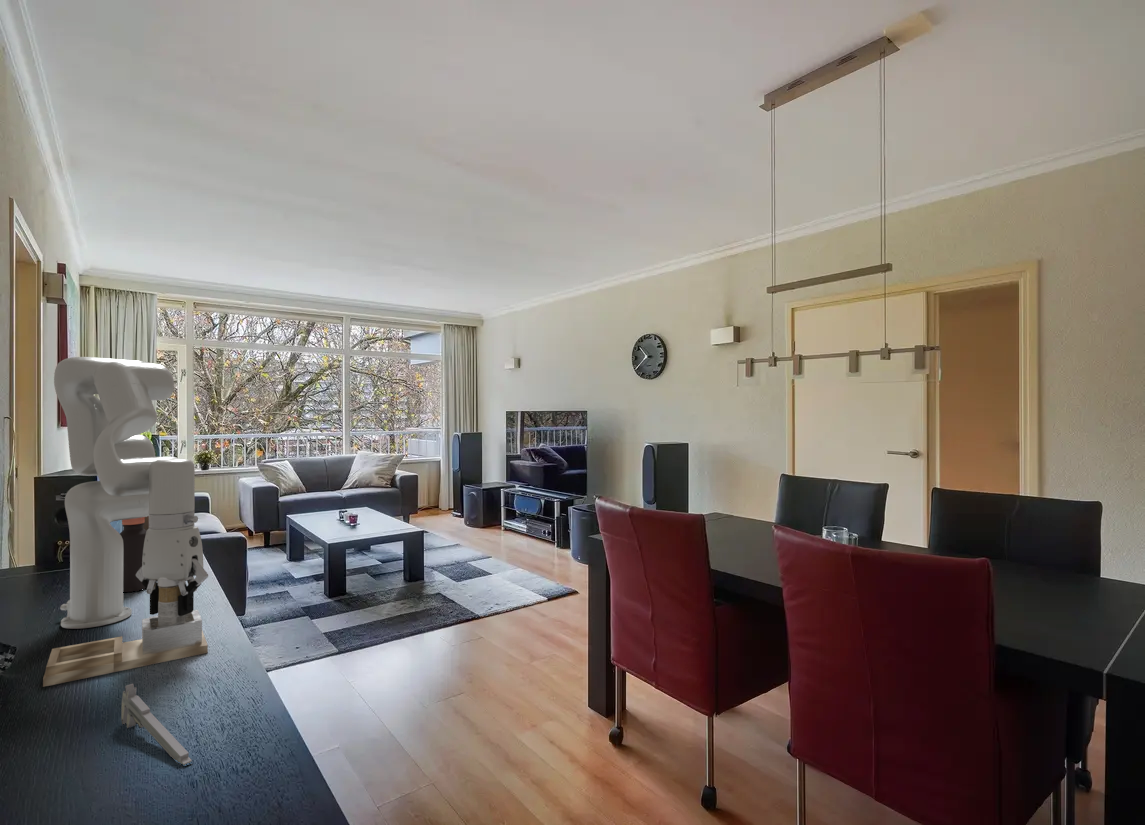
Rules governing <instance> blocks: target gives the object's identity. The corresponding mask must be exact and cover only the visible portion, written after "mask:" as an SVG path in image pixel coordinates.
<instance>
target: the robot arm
mask: <svg viewBox="0 0 1145 825" xmlns="http://www.w3.org/2000/svg"><path fill="white" fill-rule="evenodd" d="M53 374H54V377H53V384H54V390H55V394H56V397H57V399H58V401H59V404H60V405H61V408H62V410H63V413H64V414H65V417H66V427H67V439H68V441H67V442H68V450H69V460H70V465H71V466H70V467H71V469H72V471H73V472H74V473H75V474H76V475H79V476H83V477H84V476H88V477H91V476H92V477H93V476H94V477H95V476H96V477H98V480H95V481H87V482H82V483H79V484H76V485H74V486H72V487H71V488H70V489H69V490H67V491H66V494H65V498H64V508H65V509H64V510H65V513H66V518H67V523H68V529H69V562H70V563H69V599H68V600H67V601H66V603H63V604H61V605H60V606H59V607H60V610H61V611H67V616H65V617H63V618H62V619H61V620H60V627H61V628H63V629H71V630H73V629H75V630H78V629H89V628H90V629H91V628H95V627H96V628H97V627H102V626H106V625H111V624H115V623H117V622H121V621H123V620H125V619H127V618H129V617H130V616H131V615H132V611H133V610H132V608H131V607H128V606H124V593H123V549H124V548H123V539H122V536H121V535H120V532H119V531H117V530H116V528H114V527H113V526H112V525H111V523H112V522H118V521H122V520H126V519H134V518H141V517H145V518H147V517H148V529H147V530H146V531H147V532H146V536H145V541H144V547H143V558H142V567H141V568H140V569H139V570H138V572H137V573H136V577H137V578H138V579H139V580H140V581H141V582H142V584H143V585H144V587H145V588H146V589H145V590H146V594H147V595H149V614H150V615H158V601H159V588H158V587H159V586H158V579H159V578H167V579H169V580H173V581H177V582H178V585H179V588H180V592H181V594H182V595H179V596H178V615H179V616H183V615H186V614H188V613H191V612H193V610H194V607H195V606H194V603H195V602H194V600H195V599H194V594H195V593H196V591H197V590H198V588H199V587H201V585H202V583H204V582H205V581H206V580H207V579H208V578H209V573H208V572H207V571H206V569H205V568H204V552H203V543H202V536H201V533H200V532H201V531H200V529H199V526H195V523H198V520H199V517H198V516H197V515H195V507H196V506H195V489H196V488H195V485H196V484H195V479H196V478H195V474H196V473H195V471H196V469H195V464H194V461H192V460H191V459H188V458H179V457H176V456H156V450H155V447H154V444H153V442H152V440H150V438H148V437H147V436H145V435H143V433H146V432H147V431H149V430H150V429H152V428H153V427H154V426H155V424H156V423H157V421H158V414H157V412H156V408H155V407H154V404H153V402H152V401H165V400H167V399H169V398H170V397H171V396H172V395H173V394H174V393H173V392H174V389H175V382H174V381H175V380H174V378H173V374H172V373H171V372H170V370H169V369H168V368H167V367H166V366H165V365H163V364H160V363H154V362H150V361H149V362H148V361H144V360H136V359H134V360H133V359H121V358H120V359H119V358H108V357H97V356H73V357H68V358H64V359H63V360H61V361H59V362H58V363H57V365H56V366H55V369H54V373H53ZM96 395H98V397H97V396H96ZM185 581H186V582H187V583H186V582H185Z"/></svg>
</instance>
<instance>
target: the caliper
mask: <svg viewBox="0 0 1145 825" xmlns="http://www.w3.org/2000/svg"><path fill="white" fill-rule="evenodd" d="M137 688H138V687H135V686H134V683H130V684H126V685H125V686H124V690H122V696H121V697H122V698H121V718H120V719H121V725H123V724H124V725H126V726H125V727H127V728H126V729H130V728H132V726H133V727H136V725H137V726H138V727H139V729H141V728H144V729H145V730H146V731H147V732H148V733H149V734H150V735H151V736H152V737H153V739H154V740H155V741H156V742H157V743H158V744H159V745H160V746H161V747H162V748H163V750H164V751H165V752H166V753H167V755H169V757H170V758H171V757H172V758H173V759H175V760H177V761H178V762H180V763H181V764H183V765H185V764H187V763H190V762H191V761H192V762H193V759H191V758H190V757H189V751H188V750H186V749H185V747H184V746H183V745H182V744H181V743H180V742H179V741H178V740H177V739H176V738H175V736H173V734H171V733H170V732H171V731H169V730H168V729H167V728H166V727H165V726H164V724H162V723H161V721H159V720H158V719H157V717H156V716H154V714H153V713H152V712H151V708H150V707H149V705H147V704H146V703H145V702H144V700H143V699H142V698H141V697H140V696H139V695H137V690H138V689H137ZM125 723H126V724H125ZM129 727H130V728H129ZM172 758H171V759H172ZM173 759H172V760H173ZM181 764H180V765H181Z"/></svg>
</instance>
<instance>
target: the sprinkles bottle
mask: <svg viewBox="0 0 1145 825" xmlns="http://www.w3.org/2000/svg"><path fill="white" fill-rule="evenodd" d="M185 582H187V581H185ZM158 586H159V587H158V588H159V601H158V613H157V616H158V627H161V626H167V625H173V624H178V623H184V622H185V615H183V616H179V615H178V596H179V595H182V594H181V592H180V588H179V585H178V582H177V581H173V580H169V579H167V578H159V579H158Z"/></svg>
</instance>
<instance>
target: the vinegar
mask: <svg viewBox="0 0 1145 825" xmlns="http://www.w3.org/2000/svg"><path fill="white" fill-rule="evenodd" d="M145 518H146V517H141V518H134V519H126V520H121V526H122V527H123V530H122V531H120V532H119V534H120V535H121V536H122V539H123V548H124V549H123V592H130V593H134V592H133V591H137V592H140V591H139V590H141V591H143V590H142V589H144V590H146V589H145V587H144V585H143V584H142V582H141V581H140V580H139V579H138V578H137V577H136V573H137V572H138V570H139V569H140V568H141V567H142V558H143V547H144V541H145V536H146V532H147V530H146V529H145V528H144V525H145Z"/></svg>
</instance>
